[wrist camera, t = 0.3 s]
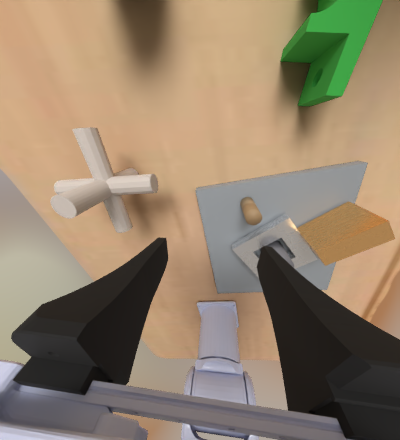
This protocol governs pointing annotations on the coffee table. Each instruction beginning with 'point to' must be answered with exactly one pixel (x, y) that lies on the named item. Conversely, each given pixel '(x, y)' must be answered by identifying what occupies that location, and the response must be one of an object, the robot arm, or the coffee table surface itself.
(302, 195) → the board
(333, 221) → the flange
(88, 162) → the pipe connector
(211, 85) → the coffee table surface
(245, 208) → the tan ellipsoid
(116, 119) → the coffee table surface
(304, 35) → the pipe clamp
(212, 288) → the coffee table surface
